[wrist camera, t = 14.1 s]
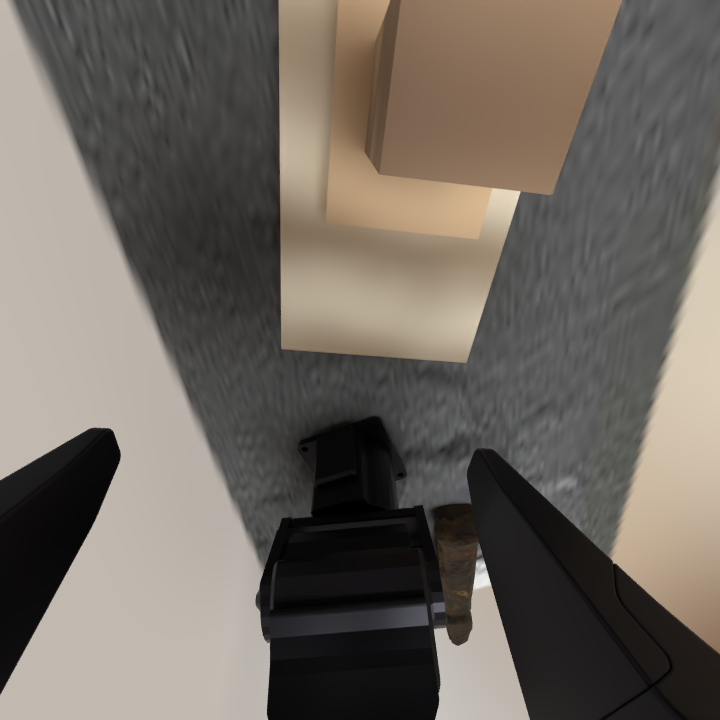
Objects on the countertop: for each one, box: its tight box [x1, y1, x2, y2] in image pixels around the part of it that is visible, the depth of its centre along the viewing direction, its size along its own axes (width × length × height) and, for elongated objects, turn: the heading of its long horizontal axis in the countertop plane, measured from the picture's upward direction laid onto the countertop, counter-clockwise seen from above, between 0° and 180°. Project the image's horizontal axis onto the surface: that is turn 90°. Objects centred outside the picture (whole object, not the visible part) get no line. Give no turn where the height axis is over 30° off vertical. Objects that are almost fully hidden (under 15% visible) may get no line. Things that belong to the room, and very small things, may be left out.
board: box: [279, 0, 521, 363], centre depth 14 cm, size 24×10×3 cm, turn 174°
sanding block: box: [326, 0, 622, 239], centre depth 10 cm, size 8×6×8 cm
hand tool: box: [434, 504, 479, 646], centre depth 35 cm, size 19×4×5 cm, turn 4°
